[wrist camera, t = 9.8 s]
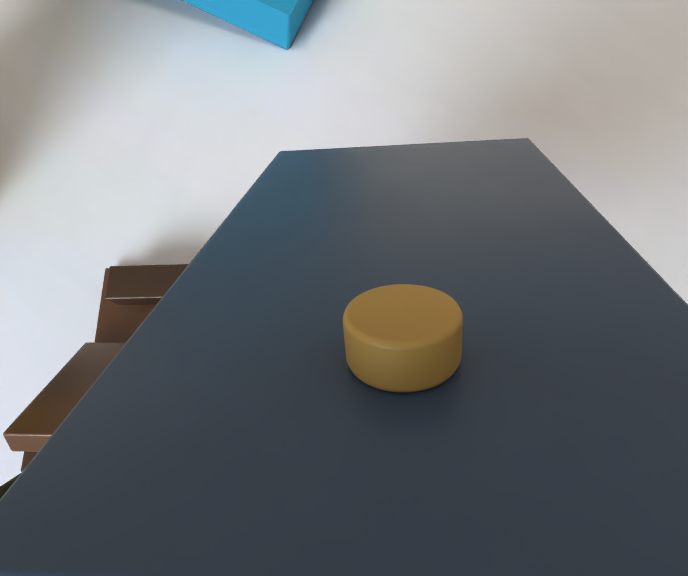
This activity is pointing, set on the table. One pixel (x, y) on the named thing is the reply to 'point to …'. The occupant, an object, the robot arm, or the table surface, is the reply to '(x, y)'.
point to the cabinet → (93, 351)
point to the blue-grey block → (382, 389)
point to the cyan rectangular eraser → (261, 16)
